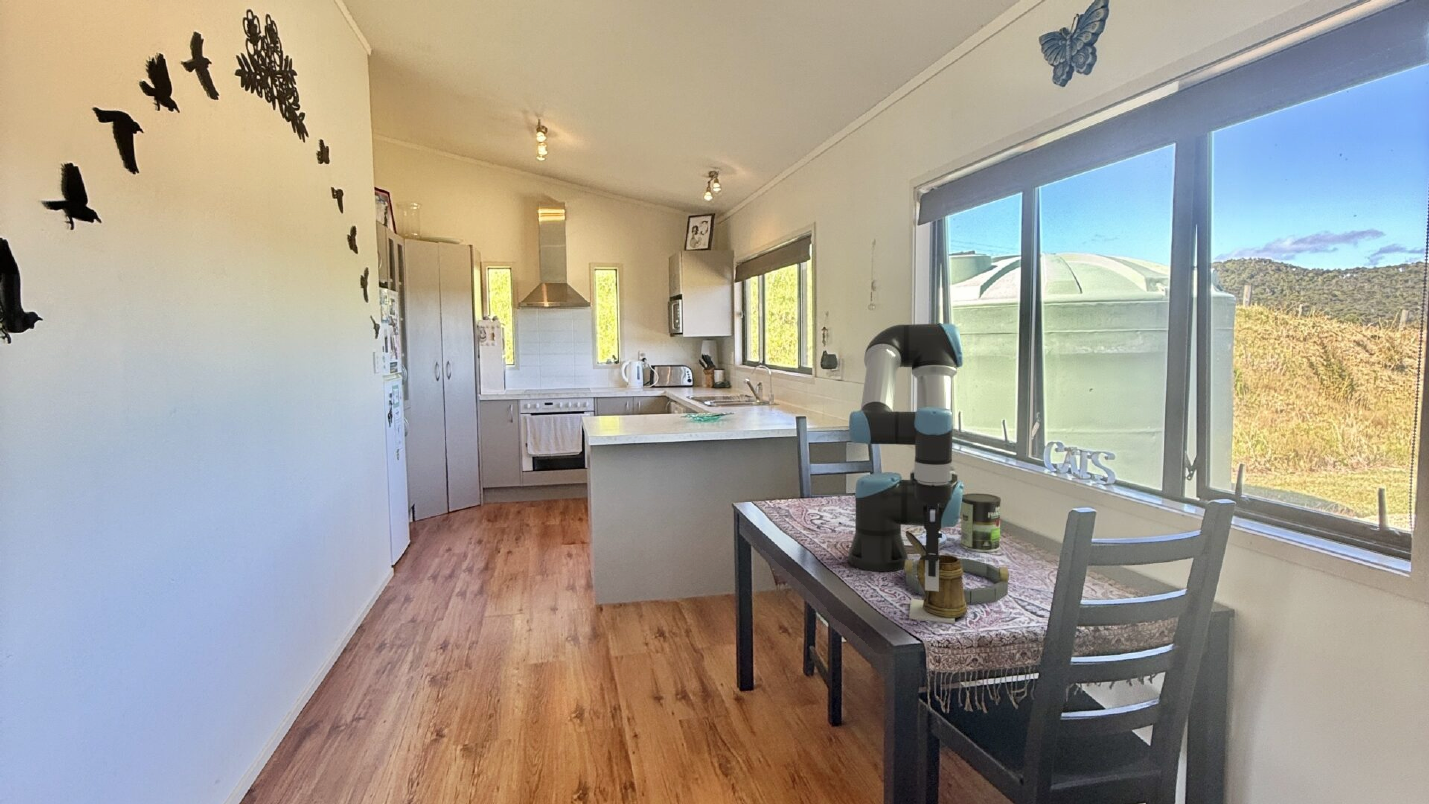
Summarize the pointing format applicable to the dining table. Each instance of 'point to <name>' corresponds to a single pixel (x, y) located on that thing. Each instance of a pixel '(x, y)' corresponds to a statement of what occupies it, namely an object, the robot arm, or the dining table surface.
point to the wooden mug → (942, 584)
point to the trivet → (925, 613)
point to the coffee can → (980, 522)
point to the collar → (970, 595)
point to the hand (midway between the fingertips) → (932, 578)
